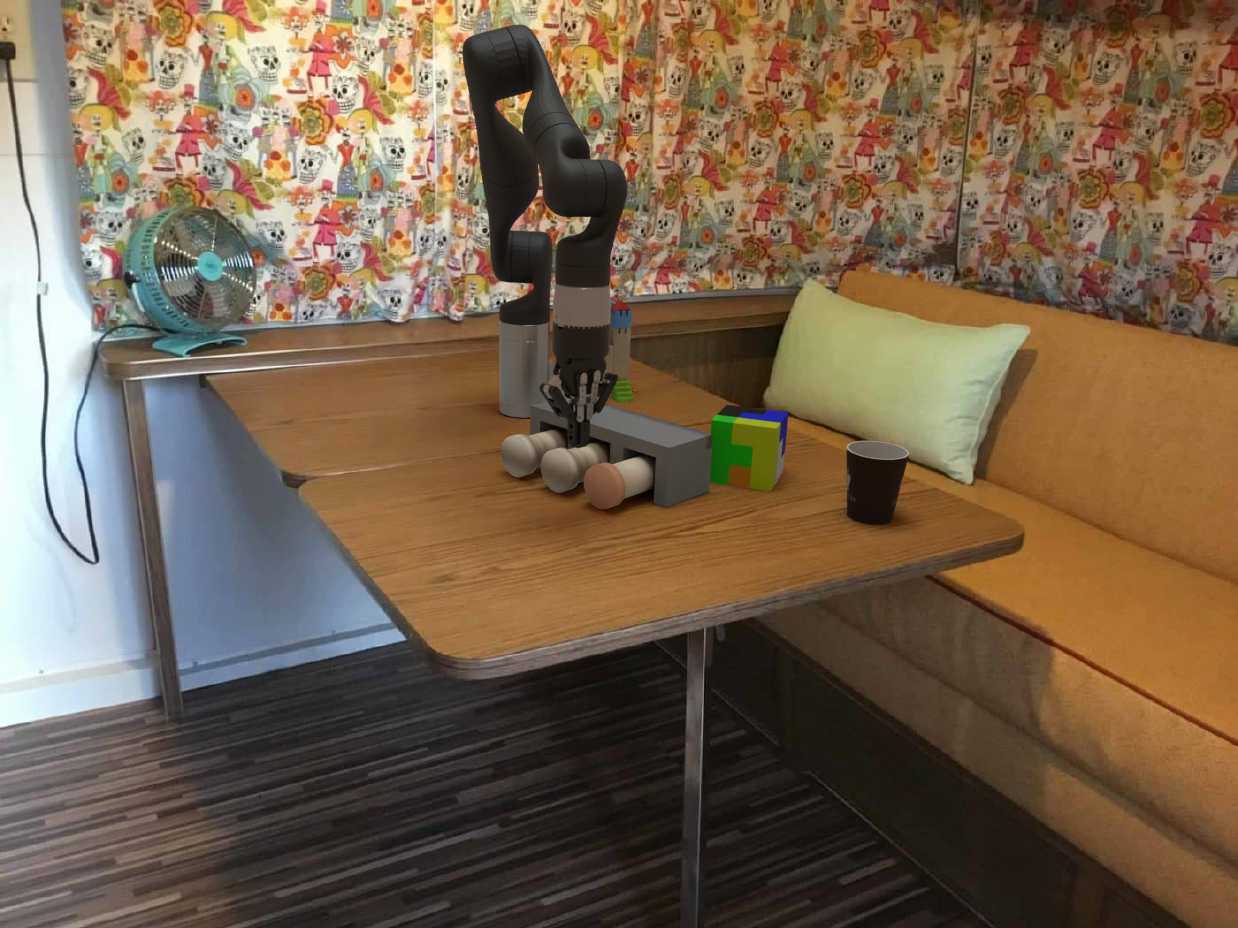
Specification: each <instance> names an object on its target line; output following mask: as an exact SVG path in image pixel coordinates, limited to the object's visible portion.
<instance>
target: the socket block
mask: <svg viewBox="0 0 1238 928" xmlns="http://www.w3.org/2000/svg"><path fill="white" fill-rule="evenodd" d="M596 402H597V401H596ZM574 407H575V406H574ZM529 418H530V423H529V425H530V426H529V427H530V428H529V435H533V434H537V433H541V432H545V431H549V430H553V429H557V428H564V429H566V430H567V431H568V421H567V419H566V418H563V417H559V416H556V414H555V413H554V411H553V410H552V408H551V407H550V405H549V404H548V402H543V403H539V404H534V405H530V417H529ZM589 434H590V438H589V441H588V444H590V443H594V442H597V441H605V442H607V443H608V444H609V445H610V464H615V463H618V462H622V461H625V460H628V459H631V458H635V457H638V456H641V455H649V456H651V457H653V458H654V459H655V460H656V469H655V488H654V490H653V491H654V492H653V504H655V505H658V506H660V507H664V508H668V507H671V506H673V505H676V504H679V503H682V502H685V501H688V500H689V499H693V498H696V497H699V496H701V495H704V494H707V493H709V492H710V483H711V482H710V470H711V455H712V441H713V434H711V433H709V432H705V431H703V430H699V429H695V428H693V427H692V428H691V427H688V426H685V425H681V424H678V423H674V422H671V421H667V420H663V419H660V418H656V417H652V416H650V415H646V414H642V413H640V412H636V411H631V410H628V409H625V408H621V407H619V406H614V405H611V404H607V403H606V404H605V405H604V407H603V409H602V411H601V412H600V413H595V414H594V415H593V417H592V419H591V420H590V433H589ZM572 448H575V447H572V446H570V444H569V443H568V449H572Z"/></svg>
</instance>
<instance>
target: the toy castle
mask: <svg viewBox="0 0 1238 928" xmlns="http://www.w3.org/2000/svg"><path fill="white" fill-rule="evenodd" d="M632 321H633V309H632V308H631V307H629V306H628V304H626V303H625V302H624V301H623V300H620V299H619V301H617V302H616V301H613V300H612V299H611V316H610V345H609V354H608V355H607V356H606V357H604V358H605V361H606V369H607V370H608V371H609V372H610V373H613V374H617V375H618V381H617V383H616V385H615V386H614V388H613V390H612V392H611V394H610V396H609V398H608V399H612V398H613V399H612V400H614V401H615V400H616V401H615V402H617V403H629V402H628V401H632V402H635V400H636V399H635V396H634V392H632V390H637V389H636V388H635V387H634V385H632V383H631V381H630V362H631V361H630V358H631V336H632V335H631V333H632V332H631V331H632V325H633V324H632ZM597 398H599V396H598V397H597ZM626 401H627V402H626Z"/></svg>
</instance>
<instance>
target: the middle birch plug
mask: <svg viewBox="0 0 1238 928" xmlns="http://www.w3.org/2000/svg"><path fill="white" fill-rule="evenodd" d="M605 462H606V463H610V445H609V444H608V443H607V442H605V441H597V442H594V443H590V444H588V445H587V446H586V447H582V448H572V449H566V448H557V449H553V450H550V451H547V452H546V453H545V454H544V456H543V458H542V461H541V467H540V472H541V476H542V479H543V481H544V483H545V485H546V486H547V488H549V489H550V490H551V491H552V492H554V493H558V494H559V493H560V494H562V493H565V492H567V491H571V490H573V489H574V488H576V487H577V486H578V484H580V483H584V476H585V473H586V471H587V470H588V469H589V468H590V467H591V466H594V465H597V464H600V463H605Z"/></svg>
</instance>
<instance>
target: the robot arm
mask: <svg viewBox="0 0 1238 928" xmlns="http://www.w3.org/2000/svg"><path fill="white" fill-rule="evenodd" d="M461 51H462V54H461V55H462V65H463V70H464V75H465V81H466V85H467V89H468V94H469V98H470V99H469V100H470V104H471V108H472V112H473V113H472V114H473V118H474V122H475V124H474V125H475V129H476V137H477V147H478V157H479V167H480V174H481V175H480V176H481V183H482V188H483V192H484V198H485V205H486V211H487V217H488V229H489V230H488V231H489V234H488V235H489V250H490V252H489V253H490V263H491V268H492V272H493V275H494V277H495V278H496V279H497V280H498V281H499V282H502V283H503V282H504V283H509V284H529V285H530V284H532V286H533V287H532V290H530V291H529V292H528V293H526V294H524V295H522V296H521V297H518V298H514V299H512V300H509V301H508V300H507V301H506V302H503V303H502V304H501V305H500V306H499V311H498V312H499V314H498V315H499V321H498V322H499V323H498V329H499V330H498V333H499V335H498V337H499V345H498V347H499V353H498V354H499V357H498V360H499V364H498V365H499V366H498V367H499V368H498V369H499V371H498V372H499V374H498V375H499V378H498V380H499V383H498V384H499V388H498V389H499V393H498V394H499V405H498V406H499V407H498V409H499V413H501V415H502V414H503V415H504V416H508V417H513V418H530V405H534V404H539V403H543V402H548V404H549V405H550V407H551V408H552V410H553V411H554V413H555V414H556V416H559V417H563V418H566V419H567V421H568V434H567V440H568V443H569V444H570V446H572V447H575V448H582V447H586V446H587V445H588V441H589V438H590V434H589V433H590V420H591V419H592V417H593V415H594V414H595V413H600V412H601V411H602V409H603V407H604V405H605V404H607V401H608V400H609V399H610V398H609V396H610V394H611V392H612V390H613V388H614V386H615V385H616V383H617V381H618V375H617V374H613V373H610V372H609V371H608V370H607V369H606V361H605V358H604V357H606V356H607V355H608V354H609V345H610V316H611V300H612V299H611V298H612V297H611V287H610V283H611V257H612V249H613V247H614V242H615V240H616V235H617V232H618V231H617V230H618V228H619V224H620V221H621V219H622V216H623V212H624V210H625V204H626V201H627V197H628V196H627V195H628V182H627V178H626V177H627V176H626V174H625V172H624V170H623V168H622V167H621V166H620V165H619V163H617V162H616V161H614V160H611V159H596V158H595V159H592V158H590V157H591V148H590V144H589V141H588V139H587V138H586V136H585V134H584V132H583V131H582V130H581V128H580V126H579V125H578V123H577V122H576V121H575V119H574V117H573V116H572V114H571V113H570V111H569V109H568V107H567V105H566V104H565V101H564V99H563V96H562V94H561V91H560V88H559V86H558V83H557V80H556V78H555V76H554V72H553V70H552V68H551V66H550V63H549V61H548V59H547V57H546V56H547V55H546V53H545V51H544V49H543V47H542V45H541V43H540V40H539V39H538V36H537V35H536V34H535V32H534V31H533V29H531V28H530V27H529V26H527V25H525V24H512V25H507V26H503V27H498V28H495V29H491V30H487V31H483V32H479V33H476V34H473V35H470V36H468V37H467V38H466V39H465V40H464V42H463V45H462V50H461ZM529 92H531V93H530V96H529V98H528V101H527V104H526V106H525V109H524V112H523V116H522V122H521V124H522V125H521V126H522V127H521V129H522V131H521V130H520V129H518V128H517V127H516V126H515V125H514V124H513V123H511V122H510V121H509V120H508V119H507V118H506V117H505V116H504V115H503V114H502V113H501V112H500V110H499V109H498V107H497V105H496V104H497V102H498V101H501V100H506V99H508V98H509V99H510V98H513V97H516V96H520V95H525V94H527V93H529ZM539 173H540V174H539ZM540 179H541V186H542V197H543V201H544V203H545V206H546V207H547V208H548V210H549V211H551V212H552V213H554V214H555V215H557V216H559V217H561V218H562V217H563V218H589V221H588V223H587V226H585V229H584V230H583V231H581V232H579V233H576V234H573V235H569V236H565V237H562V238H561V239H560V240H559V241H558V242H557V244H556V249H555V273H554V274H555V285H554V294H553V299H552V300H553V301H552V336H551V287H552V286H551V284H552V283H551V282H552V272H553V271H552V270H553V269H552V268H553V256H554V255H553V253H554V252H553V250H554V249H553V248H554V247H553V241H552V237H551V235H550V234H549V233H548V232H546V231H539V230H538V231H535V230H532V231H531V230H515V229H514V230H513V229H512V227H513V226H514V224H515V223H516V222H517V220H519V218H521V216H522V215H523V214H524V213H525V212H526V211H527V210H528V208H529V207H530V206H531V205H532V204H533V202H534V201H535V198H536V197H537V195H538V192H539V189H540V188H539V187H540ZM551 337H552V339H551ZM551 340H552V341H551ZM550 343H551V344H552V345H551V350H550ZM550 351H552V353H553V355H554V357H555V364H554V362H553V360H551V359H550ZM598 396H599V399H597V397H598ZM596 401H597V402H596ZM574 406H575V407H574Z"/></svg>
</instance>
